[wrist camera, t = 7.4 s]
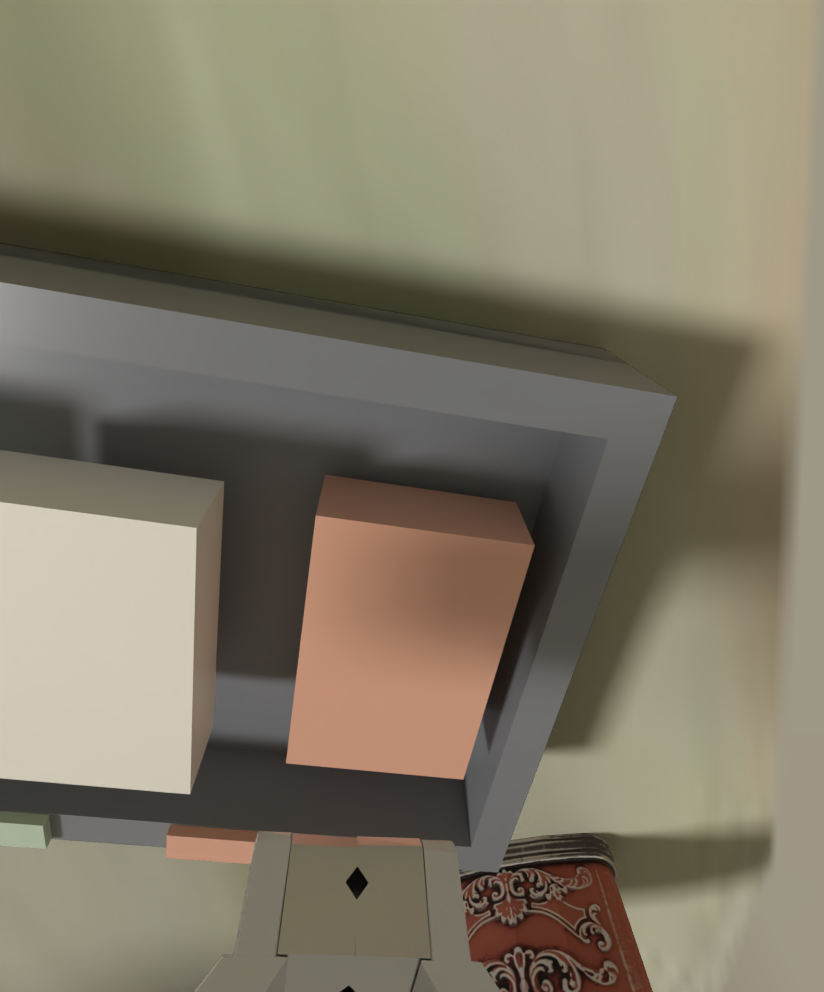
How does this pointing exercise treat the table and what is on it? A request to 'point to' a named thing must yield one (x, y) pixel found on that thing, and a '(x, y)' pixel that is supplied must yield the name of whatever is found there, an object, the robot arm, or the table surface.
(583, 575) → the grey tray
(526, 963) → the lighter
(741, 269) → the table surface
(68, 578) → the cream key
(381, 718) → the terracotta key
